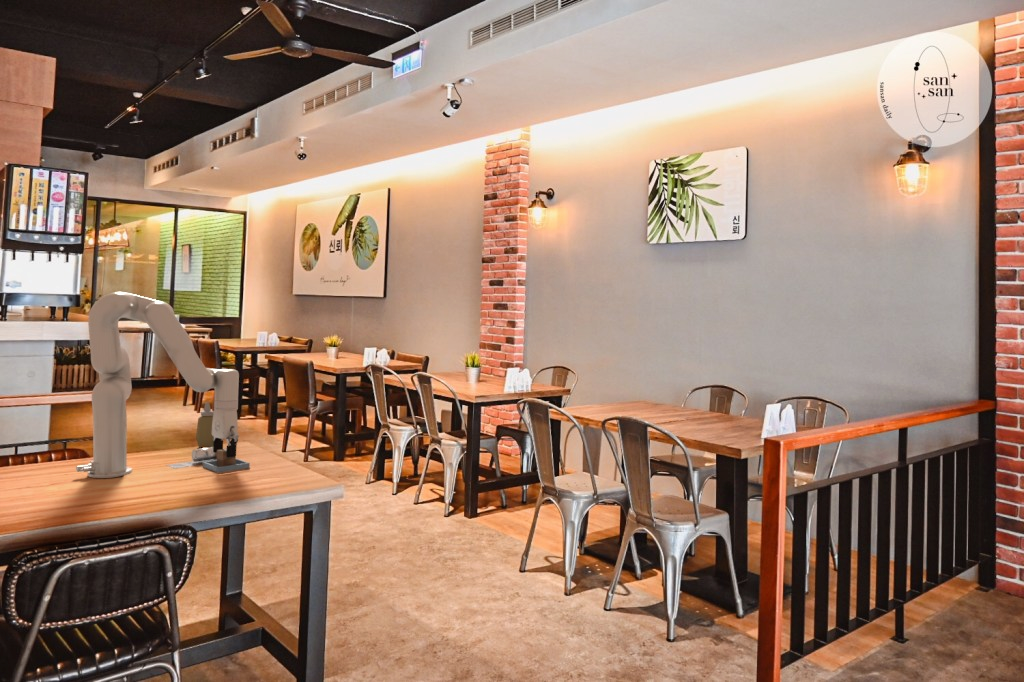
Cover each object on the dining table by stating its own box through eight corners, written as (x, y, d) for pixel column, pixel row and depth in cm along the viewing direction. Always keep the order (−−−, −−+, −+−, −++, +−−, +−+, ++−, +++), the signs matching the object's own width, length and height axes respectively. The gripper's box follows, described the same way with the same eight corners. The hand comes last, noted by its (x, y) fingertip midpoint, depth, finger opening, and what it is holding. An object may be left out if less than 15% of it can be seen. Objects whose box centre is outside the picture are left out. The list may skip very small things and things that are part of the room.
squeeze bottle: (195, 446, 276) (196, 401, 275) (217, 444, 279) (218, 400, 278) (195, 449, 268) (196, 403, 267) (218, 448, 272) (218, 403, 271)
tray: (217, 474, 231) (217, 467, 231) (202, 468, 239) (202, 462, 239) (249, 469, 240) (249, 462, 240) (234, 463, 247) (234, 457, 247)
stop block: (222, 469, 236) (223, 451, 236) (216, 467, 239) (216, 449, 239) (235, 467, 240) (235, 450, 239) (229, 465, 242) (229, 448, 242)
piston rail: (174, 469, 236) (174, 468, 236) (166, 466, 240) (166, 465, 240) (227, 462, 249) (227, 460, 249) (218, 458, 254) (218, 457, 254)
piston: (197, 463, 242) (197, 450, 242) (191, 460, 246) (191, 448, 246) (222, 459, 249) (222, 447, 249) (215, 457, 252) (215, 444, 252)
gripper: (204, 402, 241) (202, 451, 242) (227, 409, 230) (225, 460, 230) (225, 401, 247) (223, 449, 248) (248, 407, 235) (247, 457, 236)
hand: (224, 454), depth 239 cm, fingers open, 9 cm apart
